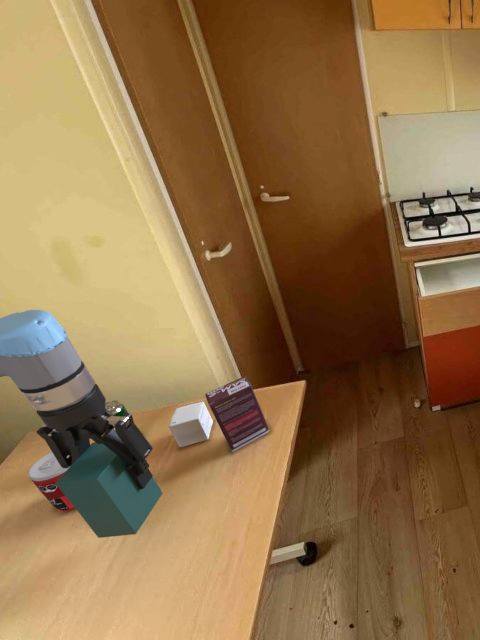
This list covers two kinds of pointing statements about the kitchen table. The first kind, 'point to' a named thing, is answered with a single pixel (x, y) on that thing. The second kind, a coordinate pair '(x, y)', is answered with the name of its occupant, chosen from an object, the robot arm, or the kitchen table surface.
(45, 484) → the canned food
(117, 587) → the kitchen table surface
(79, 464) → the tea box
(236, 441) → the supplement box
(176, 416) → the product box
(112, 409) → the soda can
